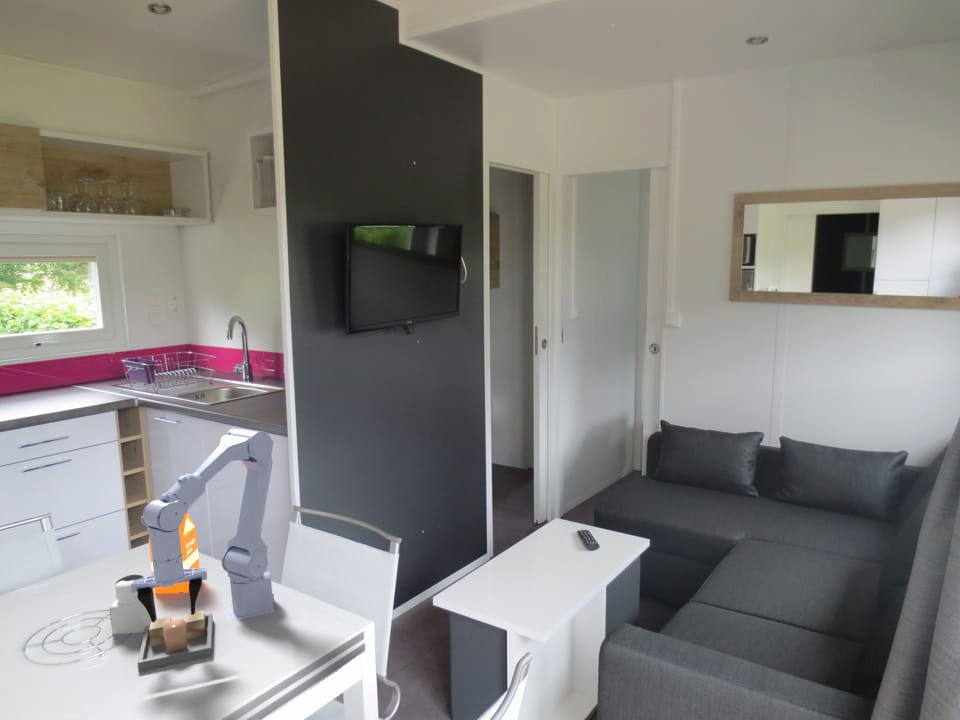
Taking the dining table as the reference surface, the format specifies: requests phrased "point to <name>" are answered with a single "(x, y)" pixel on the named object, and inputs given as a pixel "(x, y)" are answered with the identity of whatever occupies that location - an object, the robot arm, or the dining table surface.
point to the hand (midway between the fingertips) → (173, 616)
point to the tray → (158, 657)
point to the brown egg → (175, 636)
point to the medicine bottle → (128, 609)
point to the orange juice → (183, 555)
